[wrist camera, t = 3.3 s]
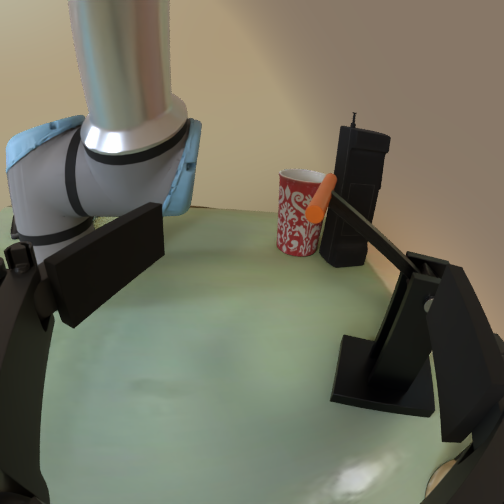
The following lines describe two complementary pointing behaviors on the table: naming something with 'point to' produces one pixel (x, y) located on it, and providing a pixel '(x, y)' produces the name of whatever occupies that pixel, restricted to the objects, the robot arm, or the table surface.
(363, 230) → the switch lever
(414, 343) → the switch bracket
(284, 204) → the mug
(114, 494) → the table surface
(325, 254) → the portable radio
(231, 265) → the table surface
